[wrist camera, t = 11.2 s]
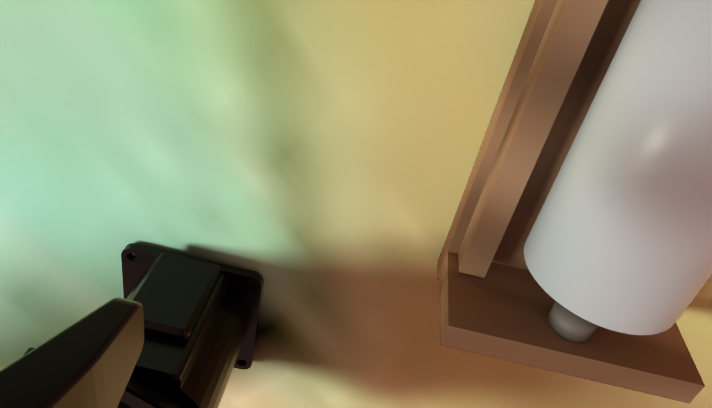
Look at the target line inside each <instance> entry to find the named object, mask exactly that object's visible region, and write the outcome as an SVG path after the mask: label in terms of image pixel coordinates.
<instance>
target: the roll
mask: <svg viewBox="0 0 712 408" xmlns="http://www.w3.org/2000/svg"><path fill="white" fill-rule="evenodd" d="M524 258H525V262H526V264H527V267H528V269H529V271H530V273H531V274H532V276H533V277H534V279H535V280H536V281H537V283H538V284H539V285H540V286H541V287H542V288H543V289H544V291H545V292H546V293H547V294H549V295H550V296H551V297H552V298H553V299H554V300H555V301H557V302H558V303H559V304H561V305H562V306H563V307H565V308H566V309H568V310H569V311H571V312H572V313H574V314H576V315H577V316H579V317H581V318H583V319H585V320H587V321H589V322H591V323H593V324H596V325H598V326H601V327H603V328H606V329H609V330H613V331H616V332H620V333H625V334H632V335H653V334H658V333H661V332H664V331H666V330H668V329H669V328H671V327H672V326H673V325H674V324H675V323H676V321H677V320H678V319H679V317H680V316H681V315H682V313H683V312H684V311H685V310H686V308H687V307H688V306H689V304H690V303H691V302H692V300H693V299H694V298H695V296H696V295H697V294H698V292H699V291H700V290H701V289H702V287H703V286H704V285H705V283H706V282H707V281H708V279H709V278H710V277H711V275H712V0H641V1H640V3H639V6H638V8H637V10H636V12H635V14H634V16H633V18H632V20H631V22H630V24H629V26H628V29H627V31H626V33H625V35H624V37H623V39H622V41H621V43H620V45H619V47H618V49H617V52H616V54H615V56H614V58H613V60H612V62H611V64H610V66H609V68H608V70H607V73H606V75H605V77H604V79H603V81H602V83H601V85H600V87H599V89H598V91H597V93H596V96H595V98H594V100H593V102H592V104H591V106H590V108H589V110H588V112H587V114H586V116H585V119H584V121H583V123H582V125H581V127H580V129H579V131H578V133H577V135H576V137H575V139H574V142H573V144H572V146H571V148H570V150H569V152H568V154H567V156H566V158H565V160H564V162H563V165H562V167H561V169H560V171H559V173H558V175H557V177H556V179H555V181H554V183H553V185H552V188H551V190H550V192H549V194H548V196H547V198H546V200H545V202H544V204H543V206H542V208H541V211H540V213H539V215H538V217H537V219H536V221H535V223H534V225H533V227H532V229H531V231H530V234H529V236H528V238H527V240H526V242H525V245H524Z"/></svg>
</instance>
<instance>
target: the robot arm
mask: <svg viewBox="0 0 712 408" xmlns="http://www.w3.org/2000/svg"><path fill="white" fill-rule="evenodd" d="M132 253H133V254H135V255H136V256H135V255H133V254H132ZM121 257H122V273H123V289H124V299H123V298H114V299H112V300H110V301H109V302H107V303H105V304H104V305H102V306H101V307H99V308H98V309H96V310H94V311H93V312H91V313H90V314H88V315H87V316H85V317H83V318H82V319H80V320H79V321H77V322H76V323H74V324H73V325H71V326H69V327H68V328H66V329H65V330H63V331H62V332H60V333H58V334H57V335H55V336H54V337H52V338H51V339H49V340H47V341H46V342H44V343H43V344H41V345H40V346H38V347H37V348H29V349H28V350H27V351H26V353H25V354H24V355H23V356H22V357H21V358H19V359H18V360H16V361H15V362H13V363H11V364H10V365H8V366H7V367H5V368H4V369H2V370H1V371H0V408H218V406H219V403H220V401H221V398H222V396H223V393H224V390H225V388H226V385H227V383H228V380H229V377H230V375H231V372H232V370H233V367H235V368H239V369H248V368H250V367H251V365H252V362H253V359H254V352H255V344H256V337H257V330H258V322H259V315H260V308H261V300H262V293H263V285H264V279H263V277H262V276H261V275H260V274H259V273H257V272H254V271H250V270H245V269H241V268H237V267H233V266H228V265H224V264H220V263H216V262H211V261H207V260H203V259H199V258H194V257H190V256H186V255H182V254H177V253H173V252H169V251H165V250H160V249H156V248H152V247H148V246H143V245H139V244H133V243H131V244H128V245H127V246H126V247H125V249H124V250H123V251H122V254H121ZM249 281H252V282H254V283H255V284H253V283H250V282H249Z"/></svg>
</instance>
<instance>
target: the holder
mask: <svg viewBox="0 0 712 408" xmlns="http://www.w3.org/2000/svg"><path fill="white" fill-rule="evenodd" d="M640 1H641V0H535V3H534V6H533V8H532V11H531V14H530V16H529V19H528V22H527V24H526V27H525V30H524V33H523V35H522V38H521V41H520V43H519V46H518V49H517V51H516V54H515V57H514V59H513V62H512V65H511V67H510V70H509V73H508V75H507V78H506V81H505V84H504V86H503V89H502V92H501V94H500V97H499V100H498V102H497V105H496V108H495V110H494V113H493V116H492V118H491V121H490V124H489V126H488V129H487V132H486V134H485V137H484V140H483V143H482V145H481V148H480V151H479V153H478V156H477V159H476V161H475V164H474V167H473V169H472V172H471V175H470V177H469V180H468V183H467V185H466V188H465V191H464V194H463V196H462V199H461V202H460V204H459V207H458V210H457V212H456V215H455V218H454V220H453V223H452V226H451V228H450V231H449V234H448V236H447V239H446V242H445V245H444V247H443V250H442V253H441V255H440V258H439V261H438V264H437V279H440V280H441V293H440V345H443V346H447V347H452V348H456V349H460V350H464V351H469V352H473V353H477V354H481V355H486V356H490V357H494V358H498V359H503V360H507V361H511V362H515V363H520V364H524V365H528V366H532V367H537V368H541V369H545V370H549V371H554V372H558V373H562V374H566V375H571V376H575V377H579V378H583V379H588V380H592V381H596V382H601V383H605V384H609V385H613V386H618V387H622V388H626V389H630V390H635V391H639V392H643V393H647V394H652V395H656V396H660V397H664V398H669V399H673V400H677V401H681V402H686V403H690V402H691V401H692V400H693V399H694V398H695V396H696V395H697V394H698V393H699V392H700V391H701V390H702V389H703V387H704V386H705V385H704V383H703V381H702V379H701V377H700V374H699V372H698V370H697V368H696V366H695V364H694V361H693V359H692V357H691V355H690V353H689V351H688V348H687V346H686V344H685V342H684V340H683V338H682V335H681V333H680V331H679V329H678V327H677V325H676V323H675V324H674V325H673V326H672V327H671V328H669V329H668V330H666V331H664V332H661V333H658V334H653V335H632V334H625V333H620V332H616V331H613V330H609V329H606V328H603V327H601V326H598V325H596V324H593V323H591V322H589V321H587V320H585V319H583V318H581V317H579V316H577V315H576V314H574V313H572V312H571V311H569V310H568V309H566V308H565V307H563V306H562V305H561V304H559V303H558V302H557V301H555V300H554V299H553V298H552V297H551V296H550V295H549V294H547V293H546V292H545V291H544V289H543V288H542V287H541V286H540V285H539V284H538V283H537V281H536V280H535V279H534V277H533V276H532V274H531V273H530V271H529V269H528V267H527V264H526V262H525V258H524V245H525V242H526V240H527V238H528V236H529V234H530V231H531V229H532V227H533V225H534V223H535V221H536V219H537V217H538V215H539V213H540V211H541V208H542V206H543V204H544V202H545V200H546V198H547V196H548V194H549V192H550V190H551V188H552V185H553V183H554V181H555V179H556V177H557V175H558V173H559V171H560V169H561V167H562V165H563V162H564V160H565V158H566V156H567V154H568V152H569V150H570V148H571V146H572V144H573V142H574V139H575V137H576V135H577V133H578V131H579V129H580V127H581V125H582V123H583V121H584V119H585V116H586V114H587V112H588V110H589V108H590V106H591V104H592V102H593V100H594V98H595V96H596V93H597V91H598V89H599V87H600V85H601V83H602V81H603V79H604V77H605V75H606V73H607V70H608V68H609V66H610V64H611V62H612V60H613V58H614V56H615V54H616V52H617V49H618V47H619V45H620V43H621V41H622V39H623V37H624V35H625V33H626V31H627V29H628V26H629V24H630V22H631V20H632V18H633V16H634V14H635V12H636V10H637V8H638V6H639V3H640Z"/></svg>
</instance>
